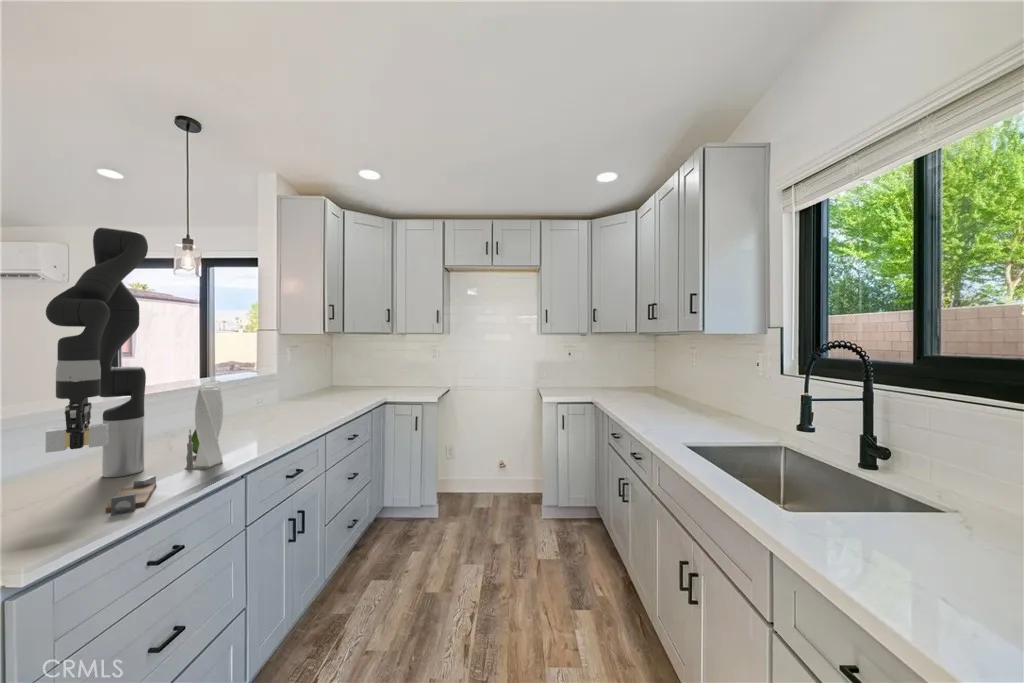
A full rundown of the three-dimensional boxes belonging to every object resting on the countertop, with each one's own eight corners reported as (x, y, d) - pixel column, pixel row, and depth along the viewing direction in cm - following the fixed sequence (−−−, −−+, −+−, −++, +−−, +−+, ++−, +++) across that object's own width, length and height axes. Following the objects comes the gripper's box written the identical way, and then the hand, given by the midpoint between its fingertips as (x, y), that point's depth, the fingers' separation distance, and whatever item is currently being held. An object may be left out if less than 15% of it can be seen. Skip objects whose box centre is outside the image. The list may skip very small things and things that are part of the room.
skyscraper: (206, 461, 133) (207, 380, 133) (229, 461, 132) (229, 380, 132) (184, 469, 124) (185, 382, 124) (208, 469, 124) (209, 383, 124)
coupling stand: (124, 488, 108) (125, 474, 108) (158, 483, 112) (158, 469, 112) (101, 517, 91) (101, 500, 91) (142, 509, 95) (142, 493, 95)
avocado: (210, 457, 137) (210, 423, 137) (184, 458, 136) (185, 424, 136) (222, 450, 145) (222, 419, 145) (198, 451, 144) (199, 419, 144)
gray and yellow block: (50, 448, 95) (50, 428, 95) (108, 442, 101) (108, 423, 101) (45, 452, 92) (45, 431, 92) (106, 445, 98) (106, 426, 98)
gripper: (63, 376, 99) (62, 442, 100) (48, 381, 89) (47, 456, 89) (105, 375, 104) (104, 438, 104) (95, 379, 93) (95, 450, 94)
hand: (78, 446), depth 97 cm, fingers closed on gray and yellow block, 4 cm apart
